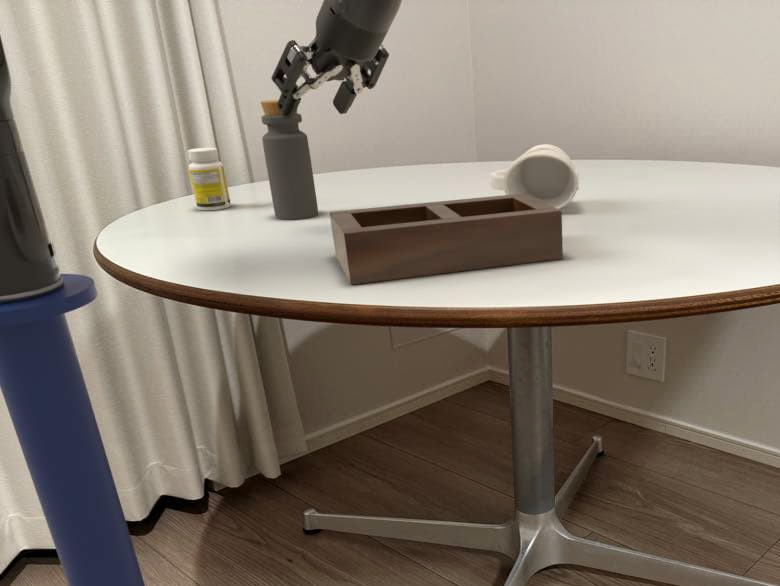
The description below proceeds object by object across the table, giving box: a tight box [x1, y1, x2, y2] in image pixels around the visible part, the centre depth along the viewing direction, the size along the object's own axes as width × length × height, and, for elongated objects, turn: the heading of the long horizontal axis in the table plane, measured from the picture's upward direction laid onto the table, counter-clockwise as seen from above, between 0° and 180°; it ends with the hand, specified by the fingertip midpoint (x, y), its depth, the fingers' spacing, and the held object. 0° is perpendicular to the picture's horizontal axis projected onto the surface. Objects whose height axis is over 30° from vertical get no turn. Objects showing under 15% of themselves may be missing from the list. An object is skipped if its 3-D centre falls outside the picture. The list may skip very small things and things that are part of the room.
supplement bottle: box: [187, 147, 232, 211], centre depth 116 cm, size 5×5×8 cm
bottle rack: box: [329, 194, 564, 286], centre depth 83 cm, size 12×22×5 cm, turn 110°
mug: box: [489, 143, 580, 210], centre depth 107 cm, size 12×9×8 cm
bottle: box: [260, 99, 319, 220], centre depth 107 cm, size 6×6×15 cm
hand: (312, 111), depth 100 cm, fingers open, 8 cm apart
